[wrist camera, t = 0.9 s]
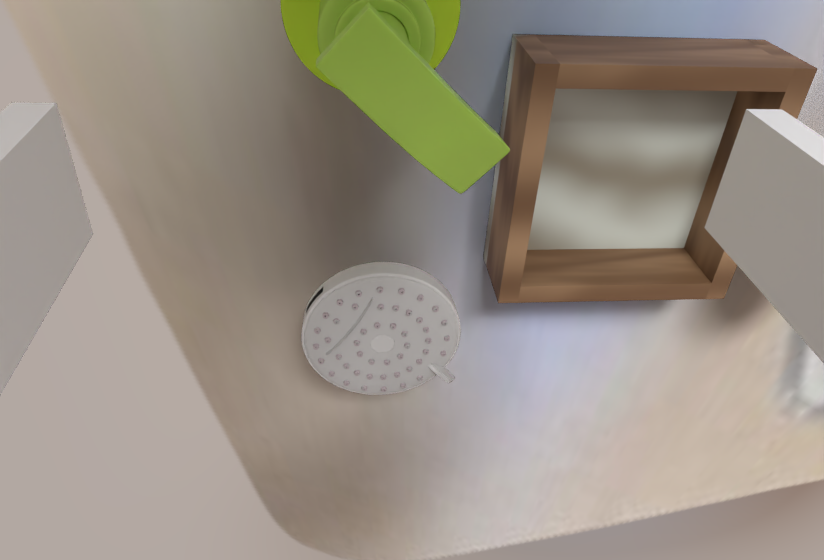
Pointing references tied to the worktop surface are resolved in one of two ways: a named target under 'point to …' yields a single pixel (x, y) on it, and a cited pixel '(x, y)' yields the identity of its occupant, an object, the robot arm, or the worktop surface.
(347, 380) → the showerhead
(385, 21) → the soap dispenser
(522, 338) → the worktop surface
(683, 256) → the wooden box
